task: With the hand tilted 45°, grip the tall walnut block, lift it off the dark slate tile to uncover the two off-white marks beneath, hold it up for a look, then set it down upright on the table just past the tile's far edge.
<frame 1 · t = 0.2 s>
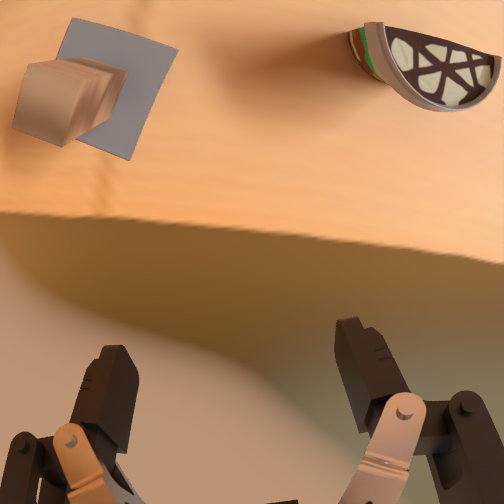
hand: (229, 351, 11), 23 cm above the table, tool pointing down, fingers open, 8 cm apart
food container: (391, 66, 25), on the table
code tile: (98, 86, 24), on the table
walnut block: (98, 86, 24), resting on code tile
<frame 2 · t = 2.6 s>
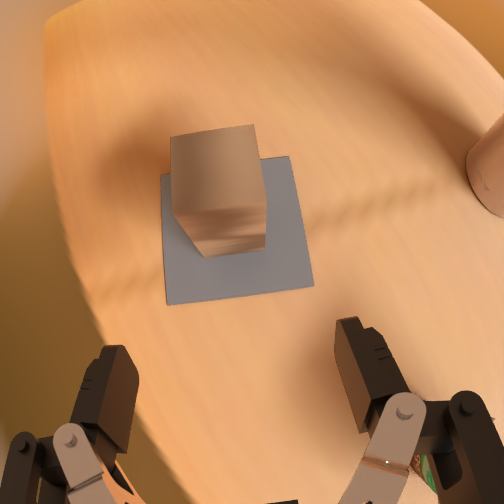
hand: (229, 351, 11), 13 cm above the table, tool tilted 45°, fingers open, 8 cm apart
food container: (428, 456, 21), on the table
code tile: (231, 226, 27), on the table
walnut block: (231, 225, 27), resting on code tile
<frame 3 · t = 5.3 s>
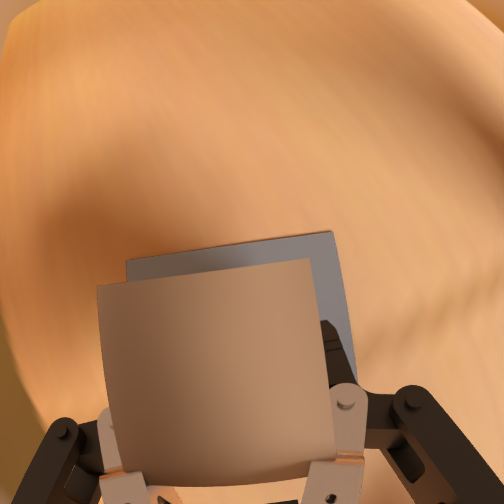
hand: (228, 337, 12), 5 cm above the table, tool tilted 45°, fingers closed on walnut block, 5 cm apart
code tile: (240, 355, 16), on the table
walnut block: (240, 355, 16), resting on code tile, touching gripper
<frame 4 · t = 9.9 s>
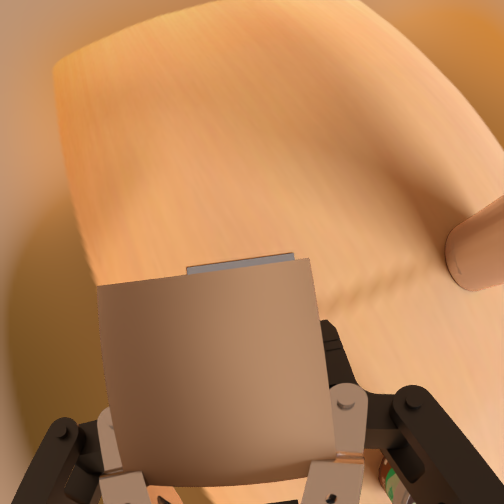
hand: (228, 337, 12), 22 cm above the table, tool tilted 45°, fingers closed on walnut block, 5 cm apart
food container: (394, 478, 28), on the table
code tile: (246, 314, 34), on the table
walnut block: (240, 355, 16), point 18 cm above the table, touching gripper
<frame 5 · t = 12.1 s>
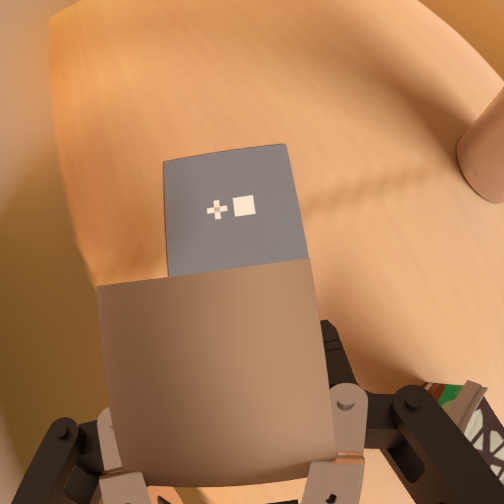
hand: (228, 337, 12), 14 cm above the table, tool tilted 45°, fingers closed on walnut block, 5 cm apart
food container: (425, 435, 22), on the table
code tile: (230, 208, 28), on the table
walnut block: (240, 356, 16), point 9 cm above the table, touching gripper
when the fingers open (6 cm above the table, at t = 14.2 s): walnut block drops 1 cm, on the table.
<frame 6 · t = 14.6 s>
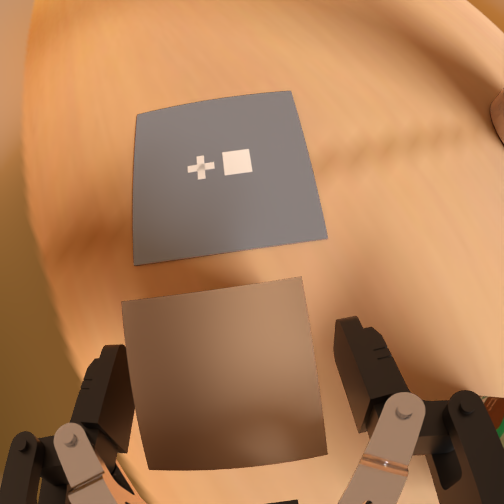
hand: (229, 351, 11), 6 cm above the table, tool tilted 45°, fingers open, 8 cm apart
food container: (470, 461, 15), on the table
code tile: (219, 165, 20), on the table
walnut block: (243, 356, 17), on the table
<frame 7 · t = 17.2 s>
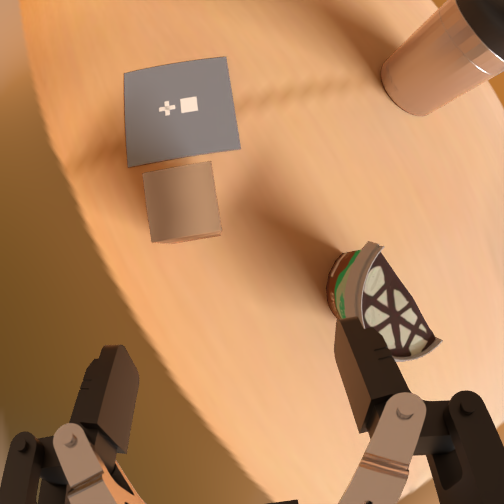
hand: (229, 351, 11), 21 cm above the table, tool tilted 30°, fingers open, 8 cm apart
food container: (346, 303, 34), on the table
code tile: (178, 106, 31), on the table
walnut block: (191, 215, 31), on the table
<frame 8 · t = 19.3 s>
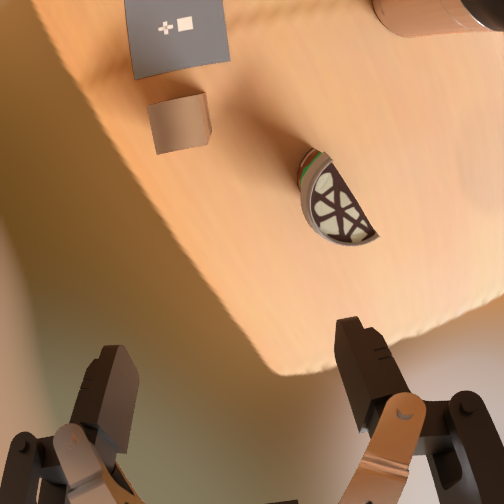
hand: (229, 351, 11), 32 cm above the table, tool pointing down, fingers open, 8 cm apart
food container: (313, 187, 42), on the table
code tile: (175, 26, 30), on the table
walnut block: (189, 115, 36), on the table
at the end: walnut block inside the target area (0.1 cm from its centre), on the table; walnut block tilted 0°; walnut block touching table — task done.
